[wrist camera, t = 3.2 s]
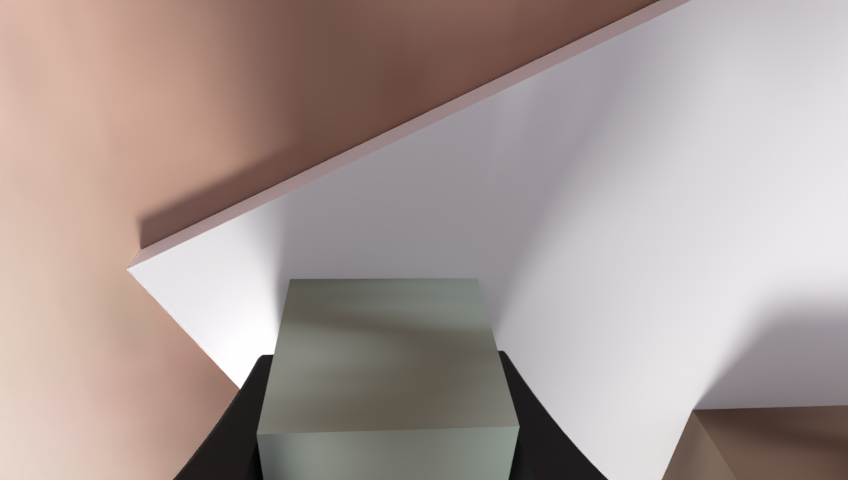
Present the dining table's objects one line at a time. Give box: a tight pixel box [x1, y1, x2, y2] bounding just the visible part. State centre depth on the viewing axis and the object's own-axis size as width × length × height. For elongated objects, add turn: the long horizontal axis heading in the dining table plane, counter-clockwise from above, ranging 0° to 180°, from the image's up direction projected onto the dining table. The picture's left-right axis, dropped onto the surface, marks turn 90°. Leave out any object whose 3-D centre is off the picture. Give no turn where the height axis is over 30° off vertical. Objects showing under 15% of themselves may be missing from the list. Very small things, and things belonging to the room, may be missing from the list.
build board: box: [127, 0, 848, 480], centre depth 17 cm, size 18×22×1 cm
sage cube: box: [257, 278, 520, 480], centre depth 12 cm, size 4×4×4 cm
